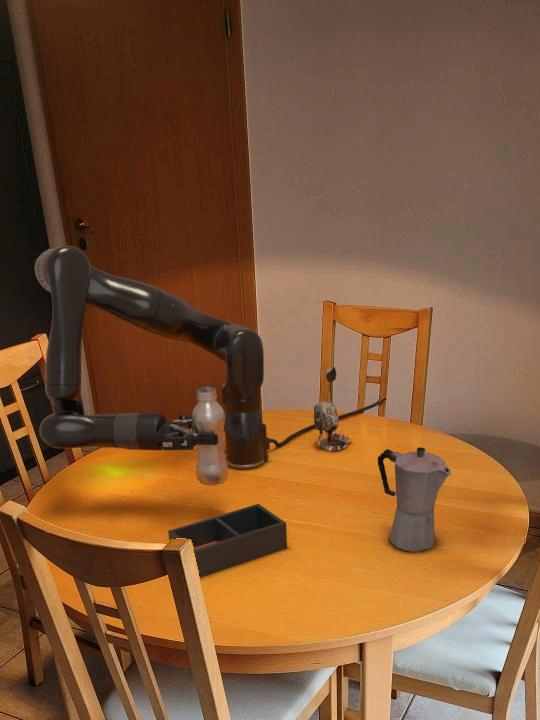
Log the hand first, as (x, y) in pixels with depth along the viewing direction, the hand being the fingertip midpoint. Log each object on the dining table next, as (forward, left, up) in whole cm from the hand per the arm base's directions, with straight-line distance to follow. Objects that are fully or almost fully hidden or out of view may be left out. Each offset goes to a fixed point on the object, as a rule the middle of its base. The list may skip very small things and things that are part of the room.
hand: (221, 433), depth 158 cm
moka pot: (-24, +30, -19) cm, 43 cm away
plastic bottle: (+2, -2, -11) cm, 11 cm away
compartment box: (+7, +13, -19) cm, 24 cm away
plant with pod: (-41, -20, -19) cm, 49 cm away
